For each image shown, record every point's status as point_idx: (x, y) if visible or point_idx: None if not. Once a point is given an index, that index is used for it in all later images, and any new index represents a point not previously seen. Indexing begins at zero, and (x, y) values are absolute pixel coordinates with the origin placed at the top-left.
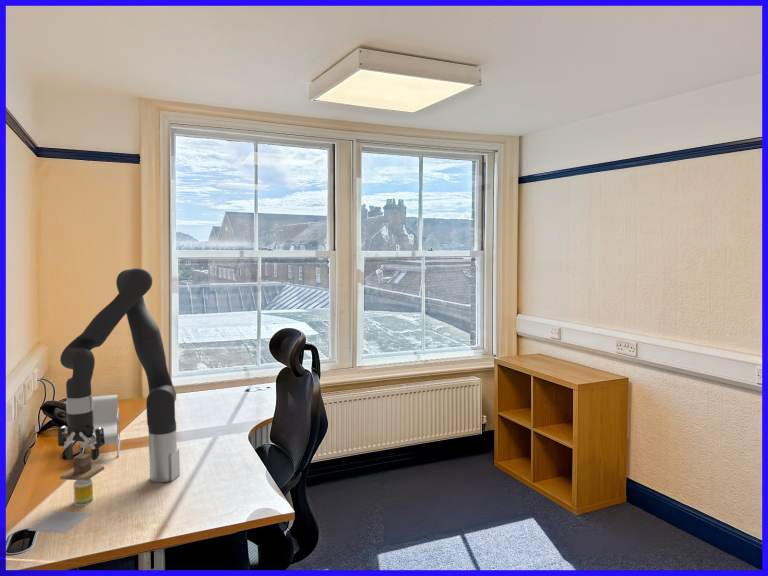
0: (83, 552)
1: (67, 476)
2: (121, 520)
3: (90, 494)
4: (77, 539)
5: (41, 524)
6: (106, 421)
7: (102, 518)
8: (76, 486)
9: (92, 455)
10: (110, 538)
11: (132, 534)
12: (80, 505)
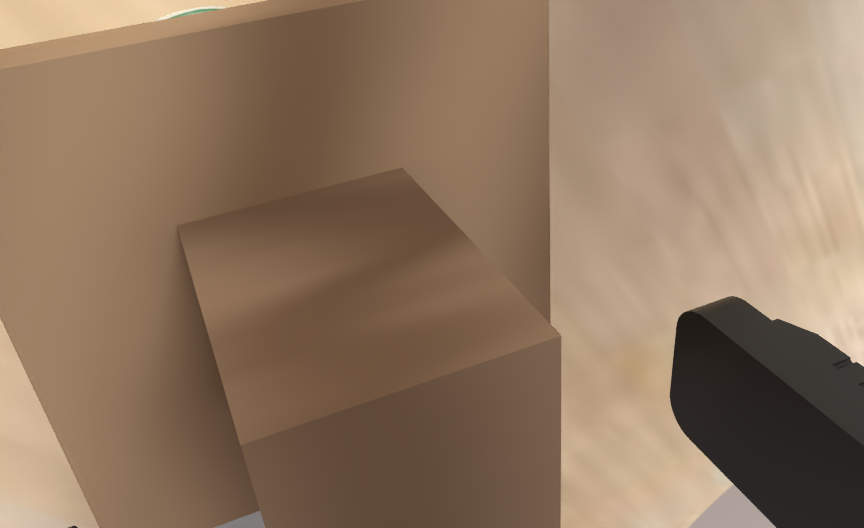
0: (675, 524)
1: (246, 514)
2: (719, 225)
3: None
4: (581, 482)
5: (224, 525)
6: None
7: (582, 258)
8: None
9: (765, 492)
10: None
11: (831, 318)
12: None
